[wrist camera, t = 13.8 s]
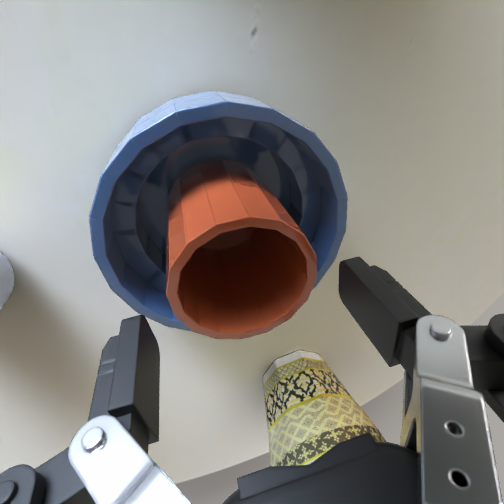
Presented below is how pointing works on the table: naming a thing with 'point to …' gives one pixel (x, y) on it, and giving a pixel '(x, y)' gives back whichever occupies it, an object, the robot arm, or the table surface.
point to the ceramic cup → (309, 410)
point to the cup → (233, 253)
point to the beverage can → (5, 279)
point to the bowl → (189, 153)
